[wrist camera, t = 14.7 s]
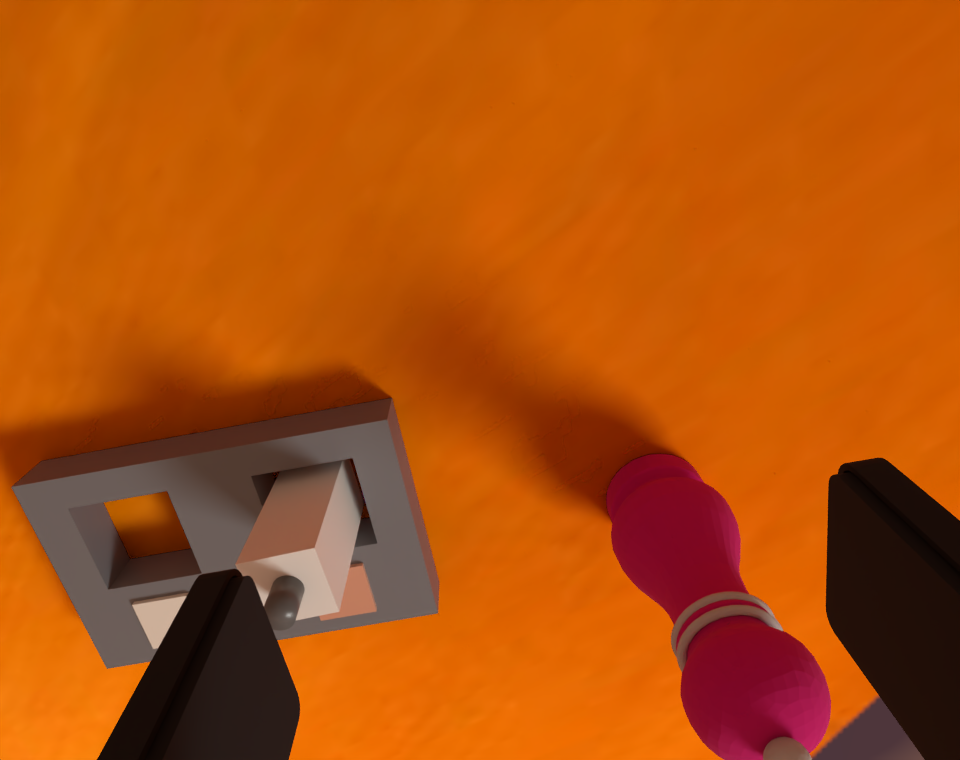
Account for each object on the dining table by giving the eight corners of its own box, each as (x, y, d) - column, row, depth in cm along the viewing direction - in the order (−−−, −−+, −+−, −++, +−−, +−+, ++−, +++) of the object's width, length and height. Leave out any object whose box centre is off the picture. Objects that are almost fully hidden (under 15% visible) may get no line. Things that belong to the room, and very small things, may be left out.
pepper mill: (710, 532, 45) (888, 833, 26) (603, 548, 45) (705, 859, 27) (707, 437, 42) (903, 699, 24) (592, 455, 42) (698, 729, 24)
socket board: (41, 461, 41) (8, 489, 38) (391, 397, 40) (386, 421, 37) (127, 634, 46) (104, 672, 43) (439, 582, 46) (437, 616, 43)
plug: (284, 462, 42) (222, 592, 31) (346, 448, 42) (306, 574, 30) (304, 515, 43) (252, 657, 32) (364, 502, 43) (332, 641, 32)
